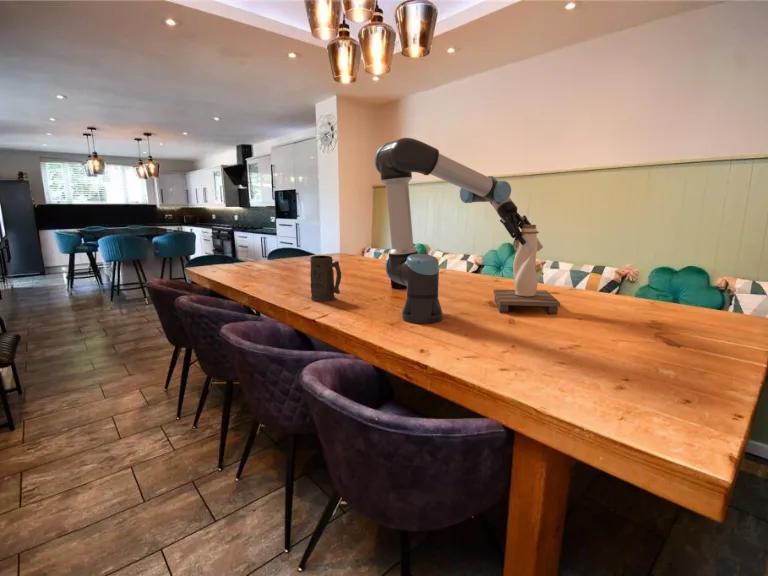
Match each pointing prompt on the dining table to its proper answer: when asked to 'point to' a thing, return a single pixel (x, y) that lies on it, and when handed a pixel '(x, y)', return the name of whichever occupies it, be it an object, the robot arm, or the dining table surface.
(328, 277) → the beer stein
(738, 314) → the dining table surface
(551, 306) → the wooden riser
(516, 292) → the water bottle
